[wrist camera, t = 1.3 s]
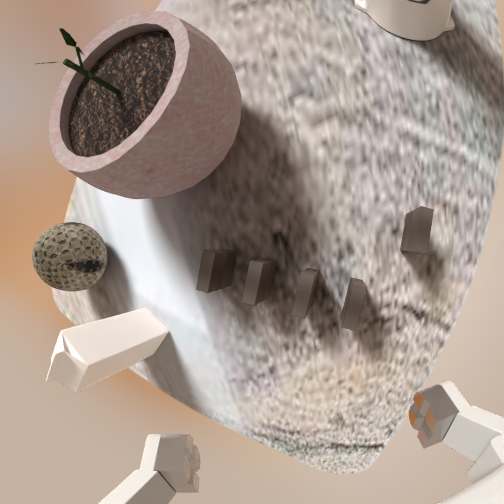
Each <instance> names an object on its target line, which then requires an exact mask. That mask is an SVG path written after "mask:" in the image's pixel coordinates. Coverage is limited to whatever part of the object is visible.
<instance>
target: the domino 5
mask: <svg viewBox="0 0 504 504" xmlns="http://www.w3.org/2000/svg"><path fill="white" fill-rule="evenodd" d="M433 211H434V209H430V208H426V207H422V206H421V207H419V208H417V209H415V210H413V211H411V212H410V213H408V214H406V220H405V226H404V232H403V237H402V243H401V248H400V250H401V251H405V252H409V253H423V254H427V249H428V243H429V237H430V231H431V225H432V218H433Z"/></svg>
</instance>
